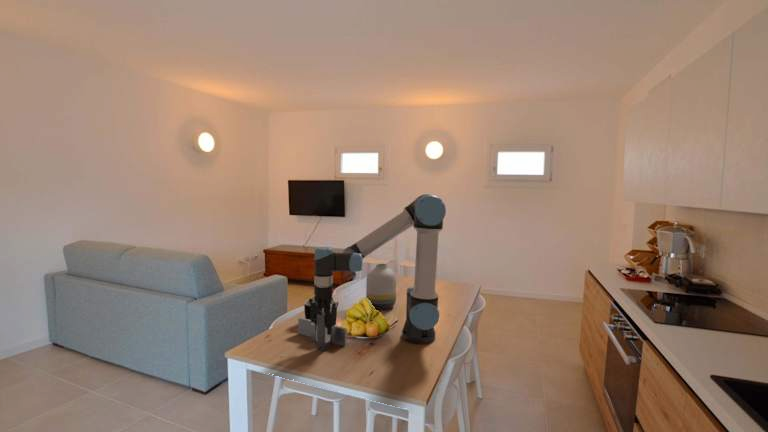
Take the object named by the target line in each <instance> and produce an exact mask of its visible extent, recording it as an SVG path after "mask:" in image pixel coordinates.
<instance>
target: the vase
mask: <svg viewBox="0 0 768 432" xmlns="http://www.w3.org/2000/svg"><path fill="white" fill-rule="evenodd" d="M367 273H368V274H367V276H366V282H365V283H366V287H365V289H366V293H365V295H366V296H365V297H366V298H368V299H369V300H370V301H371V303H372V305H373V306H374V307H375V308H376V310H387V309H390V308H392V307H394V305H395V303H396V301H397V286H398V285H397V275H396V273H395V271H393V270H392V269H391V268H390V267H389V266H388V264H387V263H377V264H376V265H375V267H374V268H372V269H371V270H370V271H369V272H367ZM366 298H365V299H366ZM375 308H374V309H375Z"/></svg>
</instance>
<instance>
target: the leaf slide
mask: <svg viewBox="0 0 768 432" xmlns="http://www.w3.org/2000/svg"><path fill="white" fill-rule="evenodd" d="M297 320H298V325H297V327H298V328H297V329H298V331H297V332H298V335H302V336H306V337H310V338H312V333H316V332H315V323H314V322H311V320H309V319H306V318H304V317H298V319H297Z"/></svg>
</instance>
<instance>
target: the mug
mask: <svg viewBox="0 0 768 432" xmlns="http://www.w3.org/2000/svg"><path fill="white" fill-rule="evenodd" d="M316 306H317V303H316ZM303 307H304V317H305V319H309V320H311V310H310V302H309V300H307V301H305V302H304V306H303ZM316 310H317V309H316ZM322 312H324V310H323V309H322Z"/></svg>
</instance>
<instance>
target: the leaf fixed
mask: <svg viewBox="0 0 768 432" xmlns="http://www.w3.org/2000/svg"><path fill="white" fill-rule="evenodd" d="M347 329H348V328H346V327H342V326H338V325H334V326H333V327H332V333H331V334H330V341H329V344H335V345H338V346H343V347H347V342H348V341H347V335H348V334H347V333H348V332H347ZM311 341H312V342H314V343H315V342H316V343H317V340H316V333H312V337H311Z"/></svg>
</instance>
